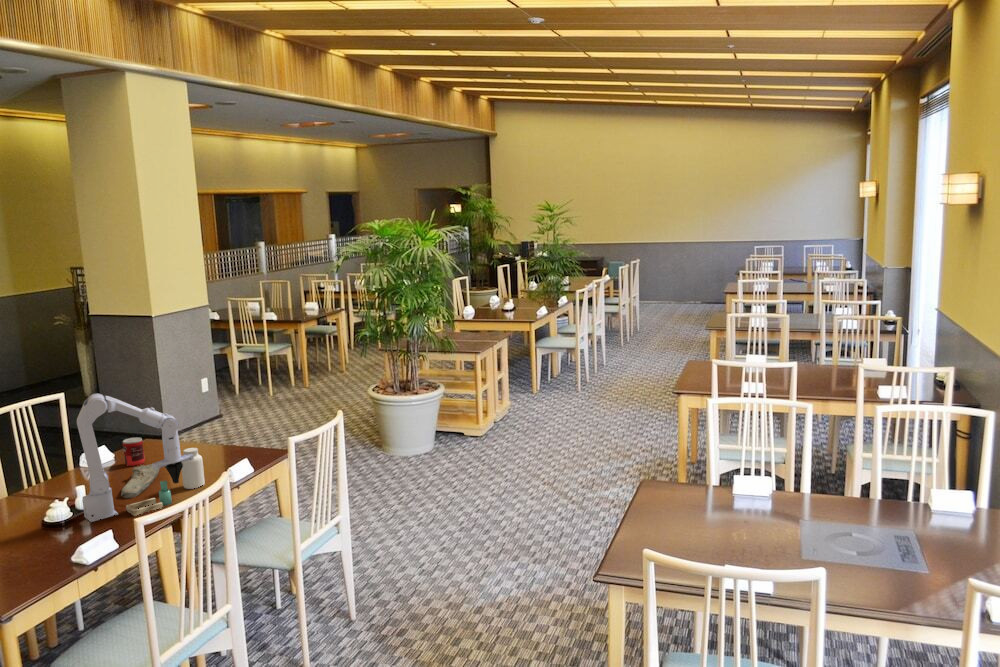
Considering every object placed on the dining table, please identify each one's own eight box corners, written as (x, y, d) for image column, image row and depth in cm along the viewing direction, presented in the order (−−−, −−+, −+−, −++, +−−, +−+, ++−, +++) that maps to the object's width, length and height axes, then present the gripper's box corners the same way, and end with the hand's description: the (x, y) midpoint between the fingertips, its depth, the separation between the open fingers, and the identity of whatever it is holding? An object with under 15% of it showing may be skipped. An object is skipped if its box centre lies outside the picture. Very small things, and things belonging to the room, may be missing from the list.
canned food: (131, 461, 344) (127, 437, 343) (148, 460, 344) (145, 436, 342) (122, 467, 337) (118, 442, 335) (140, 466, 336) (136, 442, 335)
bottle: (162, 506, 286) (159, 484, 285) (158, 503, 289) (155, 482, 288) (173, 503, 289) (170, 481, 288) (169, 500, 292) (166, 479, 290)
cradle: (134, 516, 277) (133, 511, 277) (126, 510, 284) (125, 505, 283) (163, 508, 284) (162, 502, 284) (155, 502, 290) (154, 497, 290)
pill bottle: (200, 489, 303) (196, 452, 301) (180, 489, 303) (175, 453, 301) (208, 482, 311) (204, 446, 309) (188, 482, 311) (184, 446, 309)
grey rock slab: (115, 504, 296) (142, 502, 298) (113, 491, 295) (141, 489, 297) (139, 470, 330) (164, 469, 332) (138, 458, 329) (163, 457, 331)
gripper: (186, 441, 297) (190, 475, 299) (147, 450, 287) (152, 485, 289) (194, 444, 291) (198, 479, 293) (154, 454, 282) (158, 489, 284)
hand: (175, 482), depth 291 cm, fingers closed
